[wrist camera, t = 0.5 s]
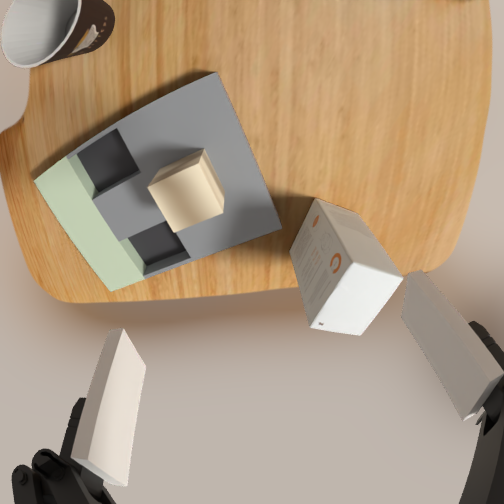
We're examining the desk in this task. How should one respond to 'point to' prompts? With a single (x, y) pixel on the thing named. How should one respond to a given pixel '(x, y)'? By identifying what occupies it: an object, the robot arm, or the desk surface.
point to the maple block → (188, 191)
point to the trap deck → (141, 174)
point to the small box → (341, 270)
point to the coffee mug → (54, 30)
